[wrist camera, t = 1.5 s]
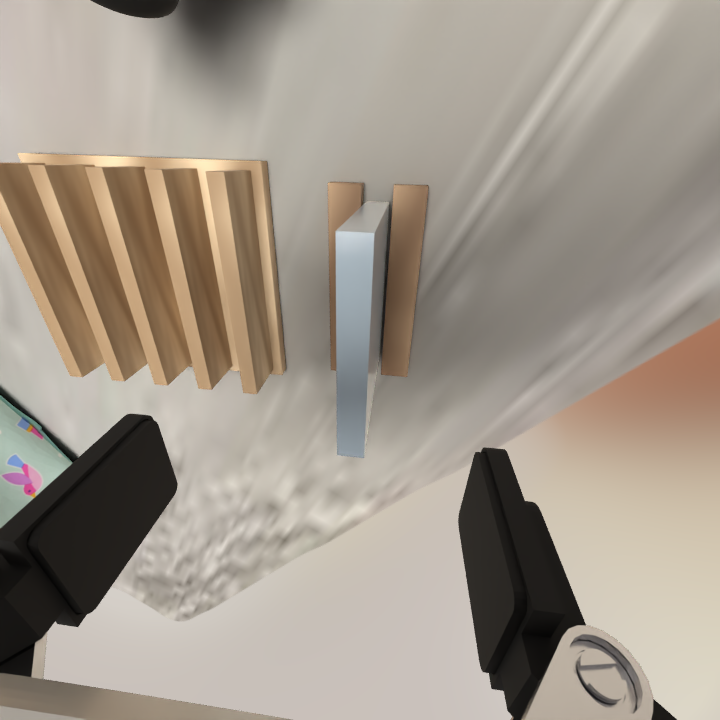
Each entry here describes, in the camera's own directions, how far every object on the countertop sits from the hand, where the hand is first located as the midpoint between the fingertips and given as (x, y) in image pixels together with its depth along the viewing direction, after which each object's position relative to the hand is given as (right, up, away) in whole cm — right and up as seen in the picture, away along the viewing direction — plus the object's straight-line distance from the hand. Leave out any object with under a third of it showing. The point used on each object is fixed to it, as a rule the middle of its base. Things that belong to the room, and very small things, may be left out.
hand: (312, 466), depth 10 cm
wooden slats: (+2, +8, +14) cm, 17 cm away
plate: (+2, +8, +14) cm, 17 cm away
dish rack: (-12, +10, +16) cm, 22 cm away
